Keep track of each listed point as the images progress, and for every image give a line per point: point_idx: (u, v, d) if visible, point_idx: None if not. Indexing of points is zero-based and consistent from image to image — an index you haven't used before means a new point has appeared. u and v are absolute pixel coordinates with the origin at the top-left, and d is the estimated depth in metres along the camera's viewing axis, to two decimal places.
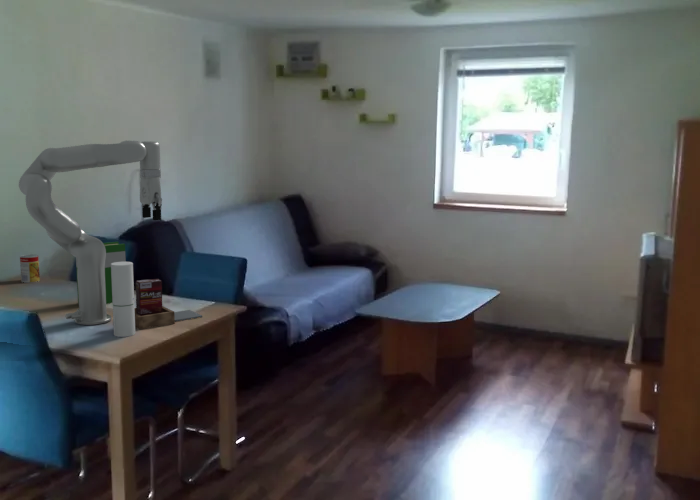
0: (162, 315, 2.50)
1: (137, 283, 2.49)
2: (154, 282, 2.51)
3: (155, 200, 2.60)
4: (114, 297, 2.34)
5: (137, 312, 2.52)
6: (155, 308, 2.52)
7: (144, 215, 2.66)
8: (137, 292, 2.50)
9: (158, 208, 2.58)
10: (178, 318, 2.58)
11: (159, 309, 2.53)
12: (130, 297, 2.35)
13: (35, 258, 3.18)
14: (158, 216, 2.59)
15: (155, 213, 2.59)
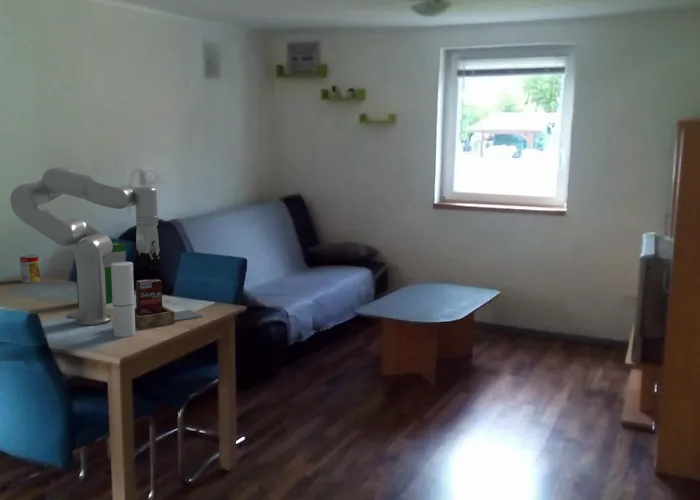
0: (162, 315, 2.50)
1: (137, 283, 2.49)
2: (154, 282, 2.51)
3: (152, 248, 2.47)
4: (114, 297, 2.34)
5: (137, 312, 2.52)
6: (155, 308, 2.52)
7: (141, 263, 2.53)
8: (137, 292, 2.50)
9: (156, 257, 2.45)
10: (178, 318, 2.58)
11: (159, 309, 2.53)
12: (130, 297, 2.35)
13: (35, 258, 3.18)
14: (156, 265, 2.46)
15: (152, 263, 2.46)
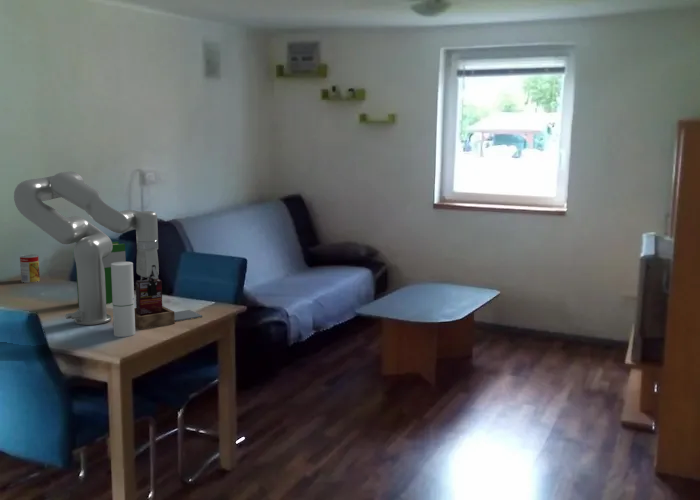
0: (162, 315, 2.50)
1: (137, 283, 2.49)
2: None
3: (152, 273, 2.49)
4: (114, 297, 2.34)
5: (137, 312, 2.52)
6: (155, 308, 2.52)
7: None
8: (137, 292, 2.50)
9: (153, 284, 2.48)
10: (178, 318, 2.58)
11: (159, 309, 2.53)
12: (130, 297, 2.35)
13: (35, 258, 3.18)
14: (153, 292, 2.49)
15: (150, 289, 2.49)
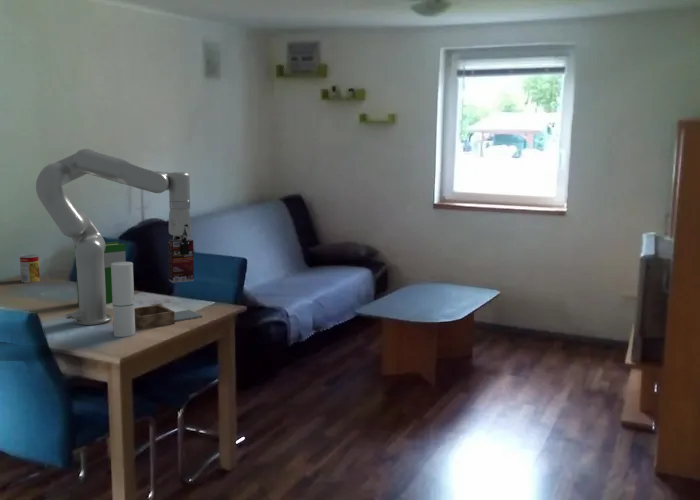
0: (162, 315, 2.50)
1: (170, 242, 2.56)
2: None
3: (184, 233, 2.56)
4: (114, 297, 2.34)
5: (169, 271, 2.59)
6: (186, 267, 2.59)
7: None
8: (169, 251, 2.57)
9: (185, 242, 2.55)
10: (178, 318, 2.58)
11: (191, 267, 2.60)
12: (130, 297, 2.35)
13: (35, 258, 3.18)
14: (185, 250, 2.56)
15: (182, 248, 2.56)
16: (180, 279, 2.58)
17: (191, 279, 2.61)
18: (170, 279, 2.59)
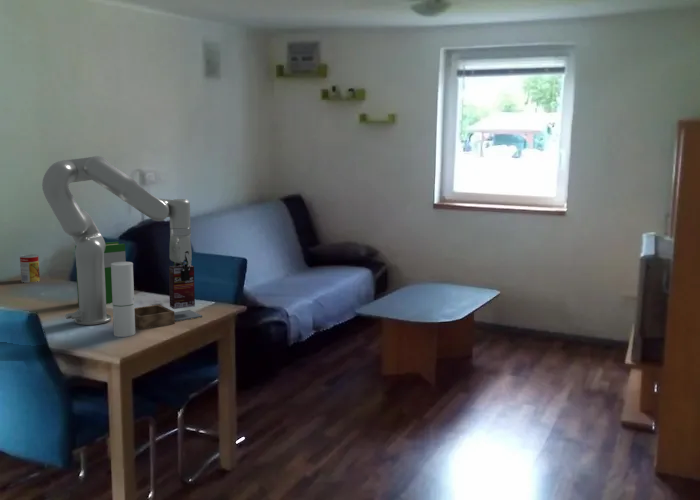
0: (162, 315, 2.50)
1: (171, 268, 2.58)
2: None
3: None
4: (114, 297, 2.34)
5: (170, 297, 2.60)
6: (187, 293, 2.61)
7: None
8: (170, 277, 2.59)
9: (186, 269, 2.57)
10: (178, 318, 2.58)
11: (192, 293, 2.62)
12: (130, 297, 2.35)
13: (35, 258, 3.18)
14: (186, 277, 2.58)
15: (183, 274, 2.58)
16: (181, 305, 2.60)
17: (192, 305, 2.63)
18: (171, 305, 2.60)
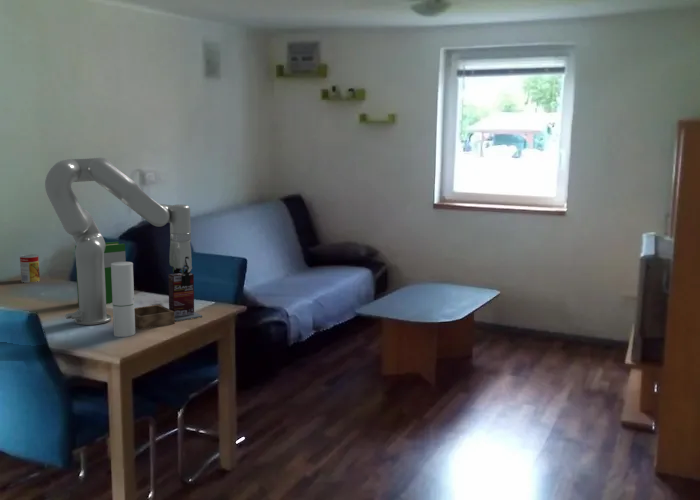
0: (162, 315, 2.50)
1: (170, 276, 2.58)
2: None
3: None
4: (114, 297, 2.34)
5: (170, 305, 2.60)
6: (187, 301, 2.61)
7: None
8: (170, 285, 2.59)
9: (187, 274, 2.57)
10: (178, 318, 2.58)
11: (191, 301, 2.62)
12: (130, 297, 2.35)
13: (35, 258, 3.18)
14: (187, 282, 2.58)
15: (184, 279, 2.57)
16: (181, 313, 2.60)
17: (192, 313, 2.63)
18: None
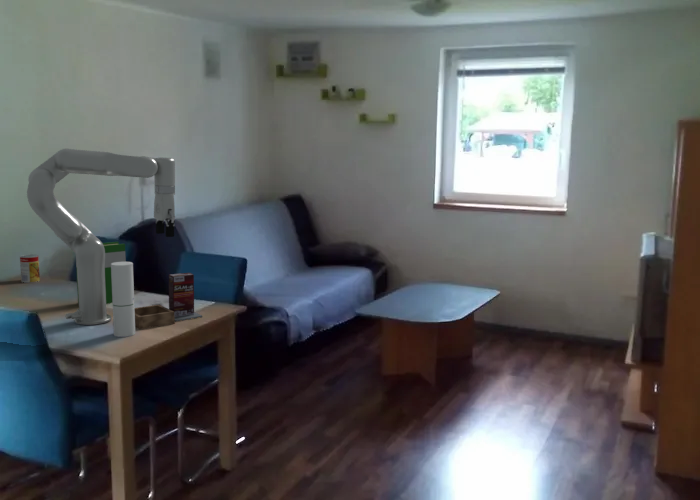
0: (162, 315, 2.50)
1: (170, 277, 2.58)
2: (187, 276, 2.60)
3: (168, 216, 2.59)
4: (114, 297, 2.34)
5: (170, 305, 2.60)
6: (187, 301, 2.61)
7: (158, 231, 2.65)
8: (170, 285, 2.59)
9: (171, 225, 2.57)
10: (178, 318, 2.58)
11: (191, 301, 2.62)
12: (130, 297, 2.35)
13: (35, 258, 3.18)
14: (171, 233, 2.58)
15: (167, 230, 2.58)
16: (181, 313, 2.60)
17: (192, 313, 2.63)
18: None
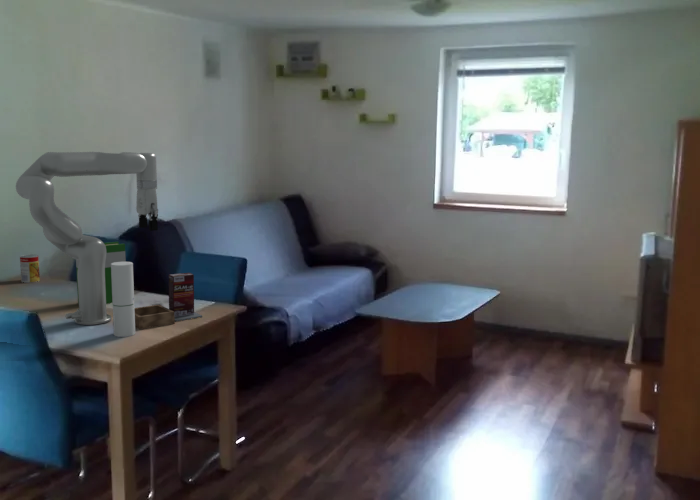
0: (162, 315, 2.50)
1: (170, 277, 2.58)
2: (187, 276, 2.60)
3: (151, 211, 2.64)
4: (114, 297, 2.34)
5: (170, 305, 2.60)
6: (187, 301, 2.61)
7: (141, 225, 2.70)
8: (170, 285, 2.59)
9: (154, 219, 2.62)
10: (178, 318, 2.58)
11: (191, 301, 2.62)
12: (130, 297, 2.35)
13: (35, 258, 3.18)
14: (154, 226, 2.63)
15: (151, 224, 2.63)
16: (181, 313, 2.60)
17: (192, 313, 2.63)
18: None
